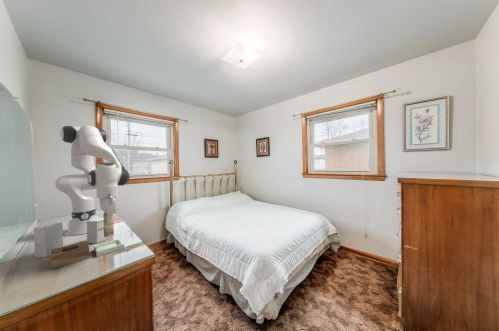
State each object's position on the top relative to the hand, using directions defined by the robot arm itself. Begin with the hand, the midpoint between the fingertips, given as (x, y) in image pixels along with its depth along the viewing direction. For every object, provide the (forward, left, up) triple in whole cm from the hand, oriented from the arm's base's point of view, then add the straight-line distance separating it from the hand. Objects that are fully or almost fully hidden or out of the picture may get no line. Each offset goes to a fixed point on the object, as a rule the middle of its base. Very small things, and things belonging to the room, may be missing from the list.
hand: (108, 220), depth 92 cm
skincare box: (-19, -21, -16) cm, 32 cm away
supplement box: (-20, -2, -16) cm, 25 cm away
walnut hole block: (-2, -14, -15) cm, 21 cm away
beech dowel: (0, 0, -8) cm, 8 cm away
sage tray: (0, 0, -15) cm, 15 cm away
